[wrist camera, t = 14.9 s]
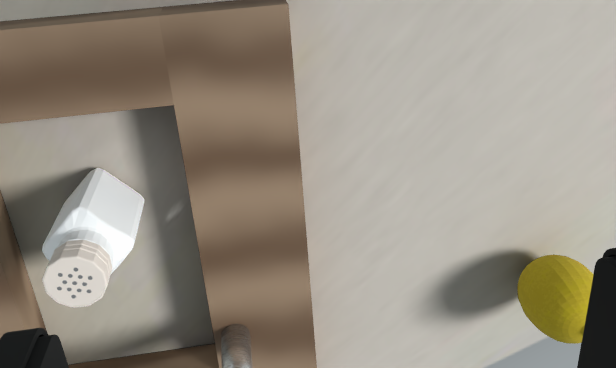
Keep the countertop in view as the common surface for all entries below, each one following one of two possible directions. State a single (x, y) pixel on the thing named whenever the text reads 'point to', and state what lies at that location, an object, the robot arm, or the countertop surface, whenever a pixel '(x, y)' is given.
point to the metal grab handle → (236, 347)
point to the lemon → (556, 296)
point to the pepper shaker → (90, 239)
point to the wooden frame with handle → (186, 154)
